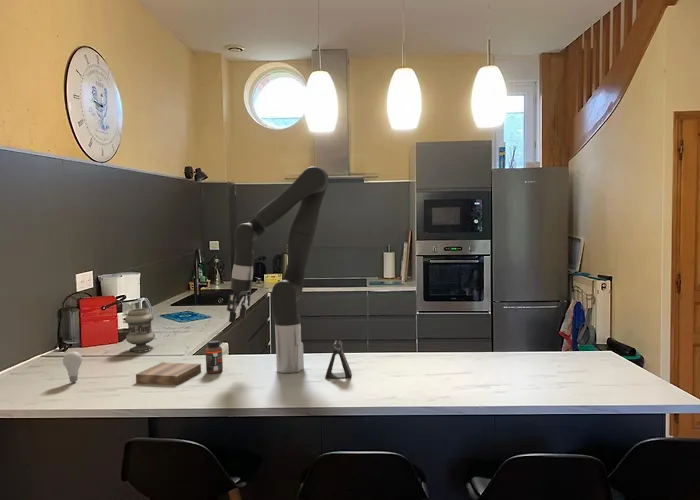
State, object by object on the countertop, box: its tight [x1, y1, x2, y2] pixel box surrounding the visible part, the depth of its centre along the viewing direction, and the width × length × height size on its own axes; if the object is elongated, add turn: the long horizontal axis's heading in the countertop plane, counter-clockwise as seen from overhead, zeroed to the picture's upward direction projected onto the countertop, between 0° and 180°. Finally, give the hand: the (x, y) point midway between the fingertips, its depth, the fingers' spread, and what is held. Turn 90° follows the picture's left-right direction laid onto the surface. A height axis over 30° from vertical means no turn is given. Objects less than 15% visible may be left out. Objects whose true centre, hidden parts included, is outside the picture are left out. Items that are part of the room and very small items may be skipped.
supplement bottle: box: [205, 340, 224, 374], centre depth 201 cm, size 6×6×11 cm
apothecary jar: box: [124, 307, 156, 353], centre depth 241 cm, size 12×12×18 cm
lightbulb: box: [62, 351, 83, 384], centre depth 192 cm, size 6×6×11 cm
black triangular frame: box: [324, 339, 352, 380], centre depth 190 cm, size 9×6×12 cm, turn 88°
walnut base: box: [135, 362, 202, 386], centre depth 195 cm, size 16×16×3 cm
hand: (237, 320), depth 201 cm, fingers open, 8 cm apart
